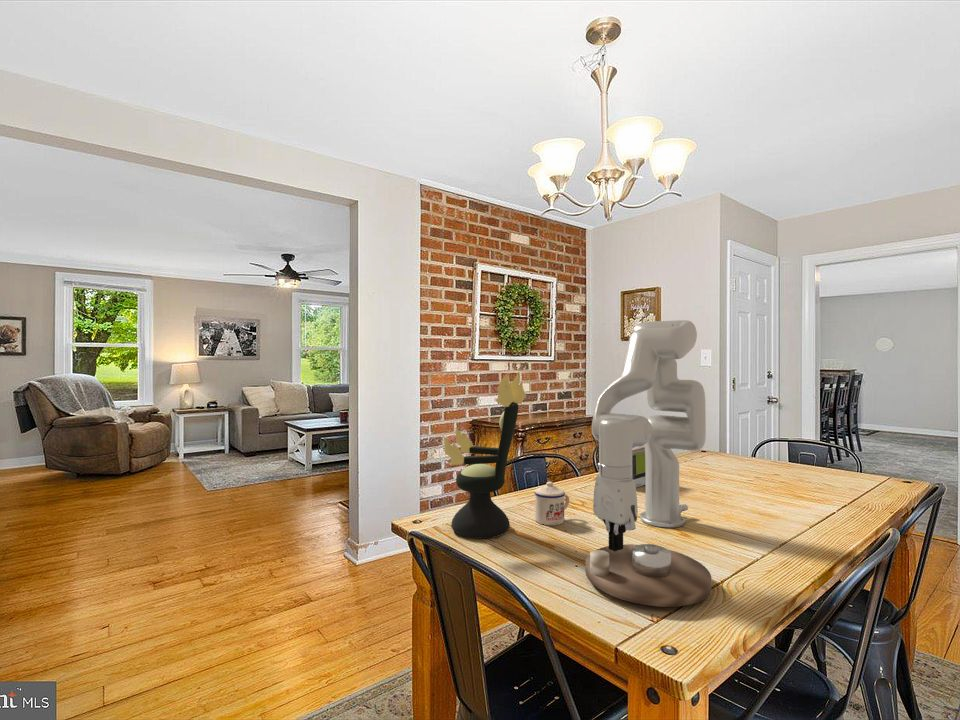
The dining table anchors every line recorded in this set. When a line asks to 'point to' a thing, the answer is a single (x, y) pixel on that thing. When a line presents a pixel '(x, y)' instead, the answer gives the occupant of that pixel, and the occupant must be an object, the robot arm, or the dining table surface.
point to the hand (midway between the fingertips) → (615, 549)
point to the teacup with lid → (550, 504)
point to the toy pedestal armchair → (485, 470)
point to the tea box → (638, 465)
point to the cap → (651, 560)
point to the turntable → (648, 579)
